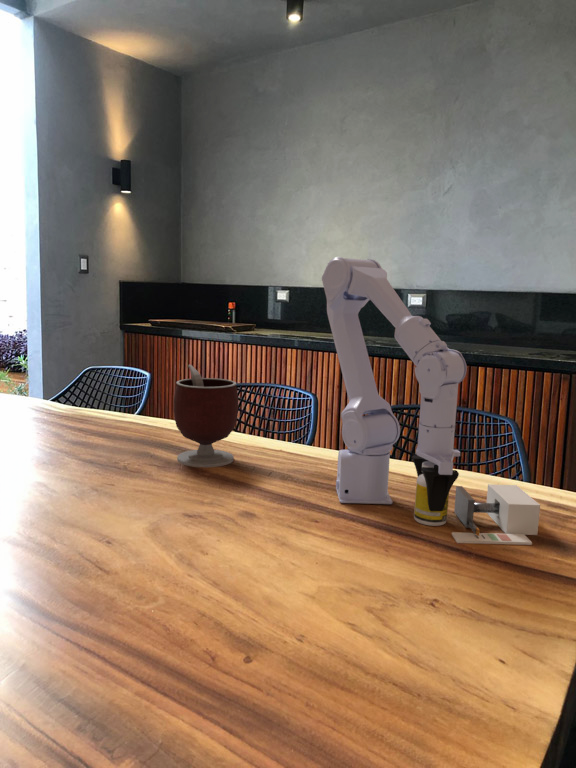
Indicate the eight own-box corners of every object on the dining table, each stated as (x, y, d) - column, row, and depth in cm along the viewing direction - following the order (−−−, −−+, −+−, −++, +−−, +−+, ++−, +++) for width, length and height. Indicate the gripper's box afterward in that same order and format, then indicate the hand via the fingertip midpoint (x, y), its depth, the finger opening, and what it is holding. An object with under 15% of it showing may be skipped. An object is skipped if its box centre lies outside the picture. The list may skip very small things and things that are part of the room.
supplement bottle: (447, 528, 100) (452, 470, 99) (413, 525, 101) (417, 467, 100) (446, 516, 105) (450, 461, 104) (413, 513, 106) (417, 458, 105)
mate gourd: (248, 463, 134) (251, 371, 131) (190, 472, 126) (191, 375, 123) (215, 446, 146) (216, 363, 143) (160, 454, 139) (160, 365, 136)
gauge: (457, 542, 94) (459, 511, 94) (434, 510, 108) (436, 482, 108) (548, 545, 95) (551, 514, 94) (513, 512, 109) (516, 485, 108)
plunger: (474, 538, 96) (477, 509, 95) (454, 512, 107) (456, 486, 106) (526, 540, 96) (528, 511, 95) (500, 513, 107) (502, 487, 106)
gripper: (475, 435, 94) (468, 520, 96) (449, 415, 108) (443, 490, 110) (428, 434, 94) (423, 519, 96) (409, 414, 108) (404, 489, 110)
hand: (431, 504), depth 103 cm, fingers closed on supplement bottle, 5 cm apart
